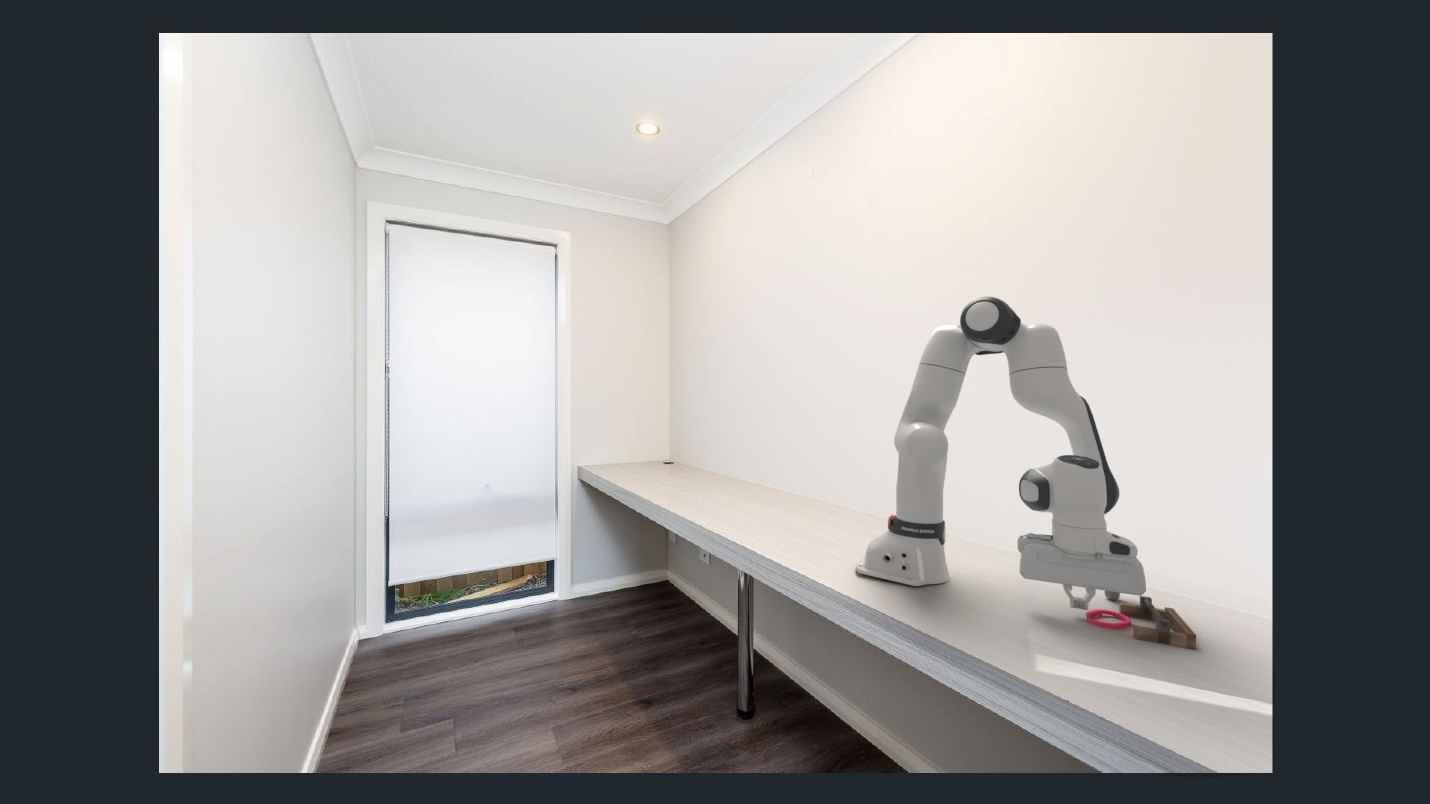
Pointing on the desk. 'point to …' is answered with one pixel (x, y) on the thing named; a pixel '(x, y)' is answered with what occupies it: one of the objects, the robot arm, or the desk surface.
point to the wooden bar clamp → (1160, 624)
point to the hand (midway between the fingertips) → (1078, 608)
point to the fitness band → (1115, 626)
